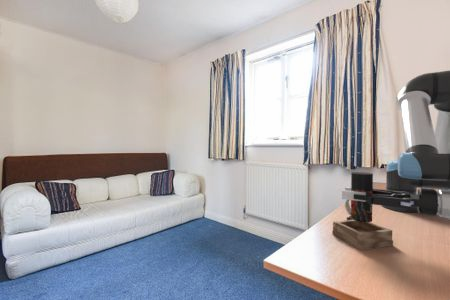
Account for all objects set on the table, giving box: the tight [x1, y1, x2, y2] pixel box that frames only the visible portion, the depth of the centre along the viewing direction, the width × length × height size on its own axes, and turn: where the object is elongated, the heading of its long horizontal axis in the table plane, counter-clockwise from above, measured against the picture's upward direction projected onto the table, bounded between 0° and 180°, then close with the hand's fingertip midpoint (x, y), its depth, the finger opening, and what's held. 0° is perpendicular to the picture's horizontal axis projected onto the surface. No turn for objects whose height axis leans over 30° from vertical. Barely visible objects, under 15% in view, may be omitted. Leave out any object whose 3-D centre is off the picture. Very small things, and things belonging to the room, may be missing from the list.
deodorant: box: [350, 171, 374, 223], centre depth 73 cm, size 6×6×15 cm
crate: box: [331, 219, 394, 251], centre depth 74 cm, size 12×12×4 cm
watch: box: [344, 199, 353, 220], centre depth 86 cm, size 6×8×11 cm
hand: (343, 192), depth 76 cm, fingers closed on deodorant, 6 cm apart
